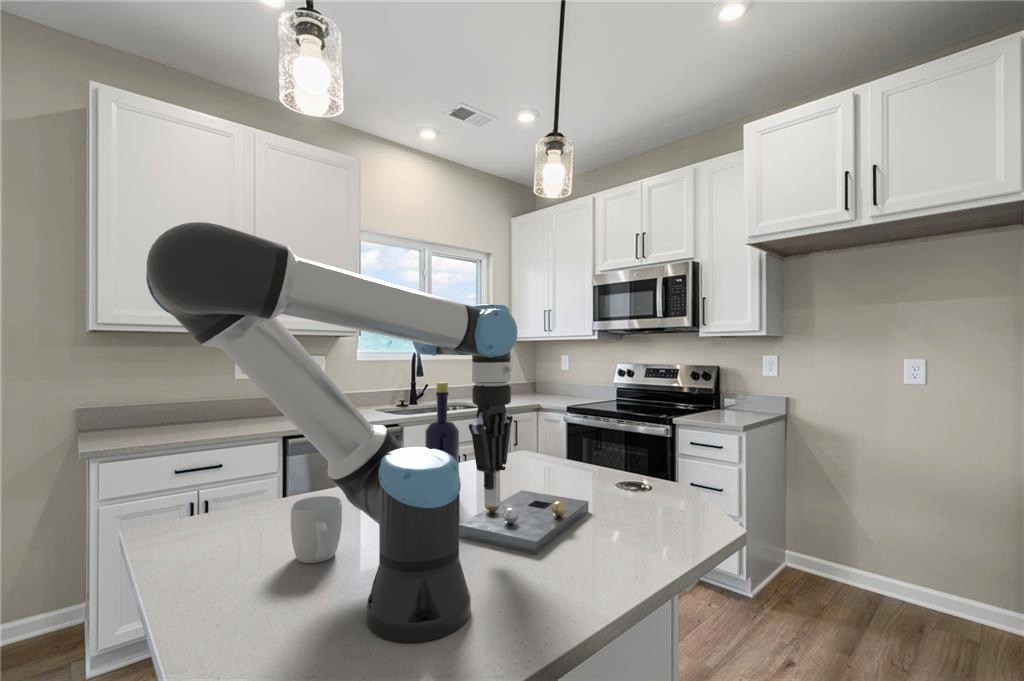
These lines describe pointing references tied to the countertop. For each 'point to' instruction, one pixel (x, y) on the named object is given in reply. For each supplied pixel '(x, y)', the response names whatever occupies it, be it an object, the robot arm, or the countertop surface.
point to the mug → (316, 528)
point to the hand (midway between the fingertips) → (492, 504)
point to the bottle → (443, 427)
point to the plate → (524, 522)
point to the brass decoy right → (558, 508)
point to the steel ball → (510, 515)
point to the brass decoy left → (491, 508)
